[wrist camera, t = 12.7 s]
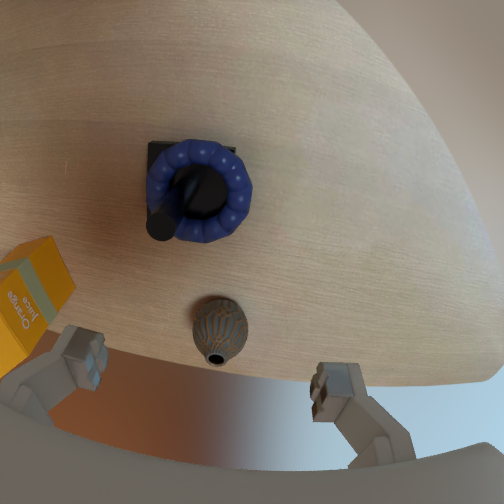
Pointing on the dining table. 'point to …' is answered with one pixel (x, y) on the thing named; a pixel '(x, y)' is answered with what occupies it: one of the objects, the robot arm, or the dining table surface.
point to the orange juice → (29, 297)
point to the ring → (218, 161)
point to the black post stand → (185, 195)
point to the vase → (220, 331)
